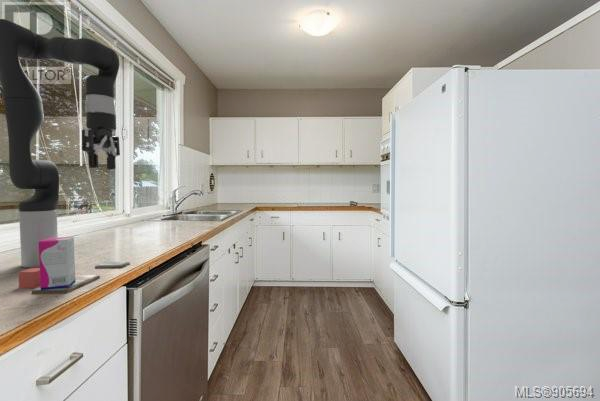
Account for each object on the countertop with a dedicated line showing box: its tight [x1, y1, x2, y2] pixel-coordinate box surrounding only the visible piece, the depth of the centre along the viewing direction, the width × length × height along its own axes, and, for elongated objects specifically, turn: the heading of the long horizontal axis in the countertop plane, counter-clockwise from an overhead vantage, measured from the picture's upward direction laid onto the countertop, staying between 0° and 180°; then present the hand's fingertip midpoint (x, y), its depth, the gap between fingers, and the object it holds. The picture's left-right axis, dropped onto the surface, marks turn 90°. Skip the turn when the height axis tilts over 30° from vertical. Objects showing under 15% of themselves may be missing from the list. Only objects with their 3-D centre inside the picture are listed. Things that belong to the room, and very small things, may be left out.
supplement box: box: [39, 236, 76, 290], centre depth 77 cm, size 6×6×12 cm
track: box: [31, 261, 131, 294], centre depth 88 cm, size 28×8×1 cm, turn 0°
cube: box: [17, 267, 40, 289], centre depth 80 cm, size 4×4×4 cm
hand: (102, 168), depth 94 cm, fingers open, 8 cm apart
